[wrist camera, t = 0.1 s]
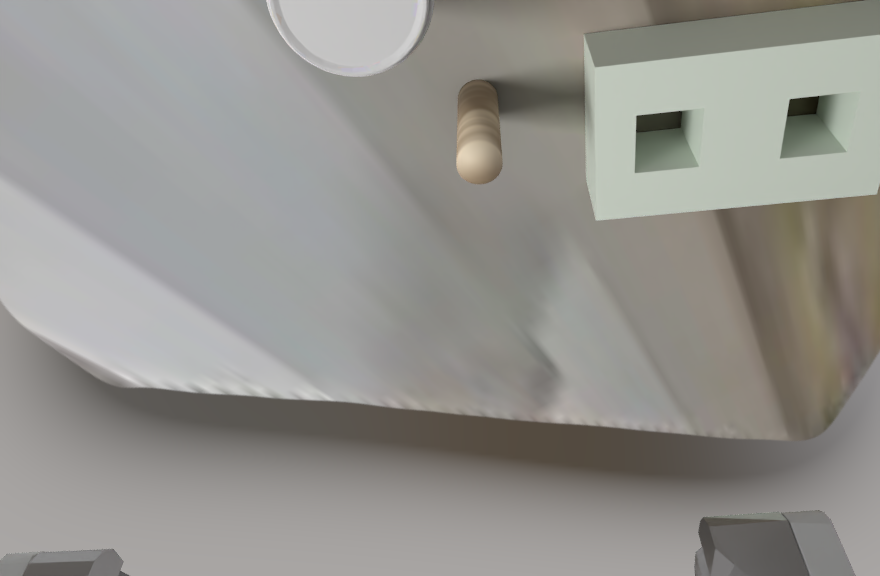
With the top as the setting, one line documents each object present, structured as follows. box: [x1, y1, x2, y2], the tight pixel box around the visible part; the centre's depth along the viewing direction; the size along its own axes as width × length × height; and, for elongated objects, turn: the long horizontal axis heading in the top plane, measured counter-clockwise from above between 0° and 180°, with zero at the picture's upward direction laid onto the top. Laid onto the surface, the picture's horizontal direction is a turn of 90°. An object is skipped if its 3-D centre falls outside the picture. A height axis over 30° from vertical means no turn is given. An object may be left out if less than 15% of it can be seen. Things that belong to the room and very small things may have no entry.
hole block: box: [584, 0, 880, 221], centre depth 54 cm, size 12×20×6 cm, turn 98°
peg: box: [457, 80, 502, 184], centre depth 53 cm, size 3×3×10 cm
